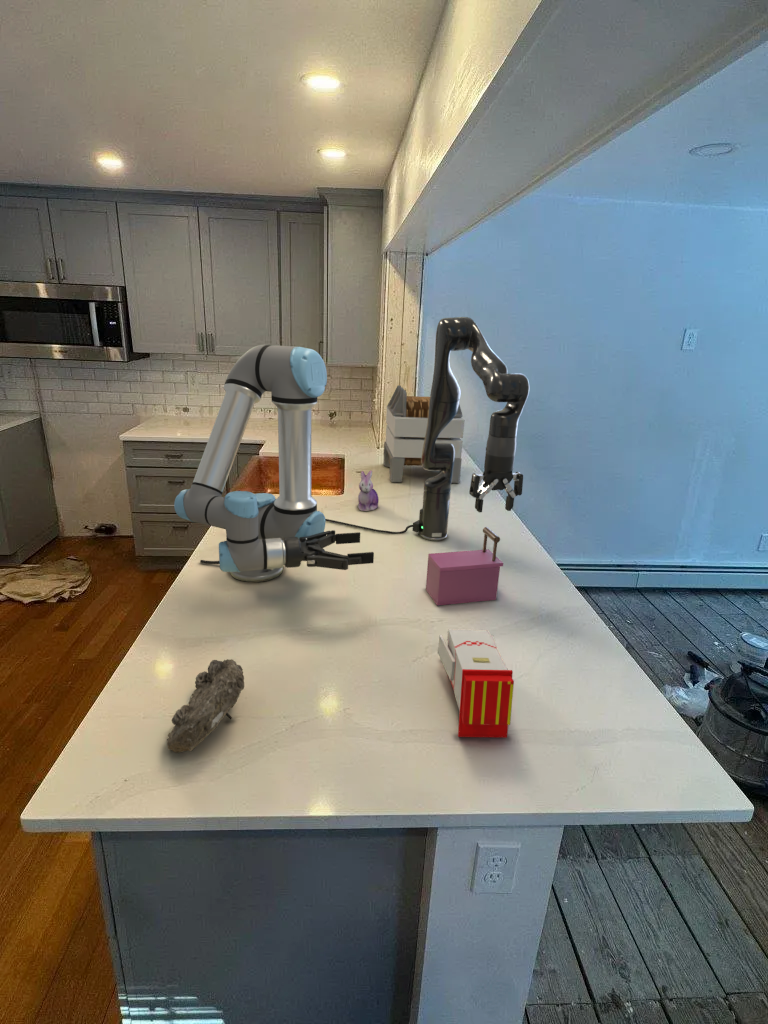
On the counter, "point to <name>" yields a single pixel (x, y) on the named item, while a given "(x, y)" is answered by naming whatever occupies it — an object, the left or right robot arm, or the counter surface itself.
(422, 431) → the grey slatted box
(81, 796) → the counter surface
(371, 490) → the figurine
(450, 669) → the toy
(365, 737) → the counter surface
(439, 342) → the right robot arm
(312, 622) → the counter surface
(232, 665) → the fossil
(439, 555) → the lid
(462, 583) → the chest
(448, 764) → the counter surface
